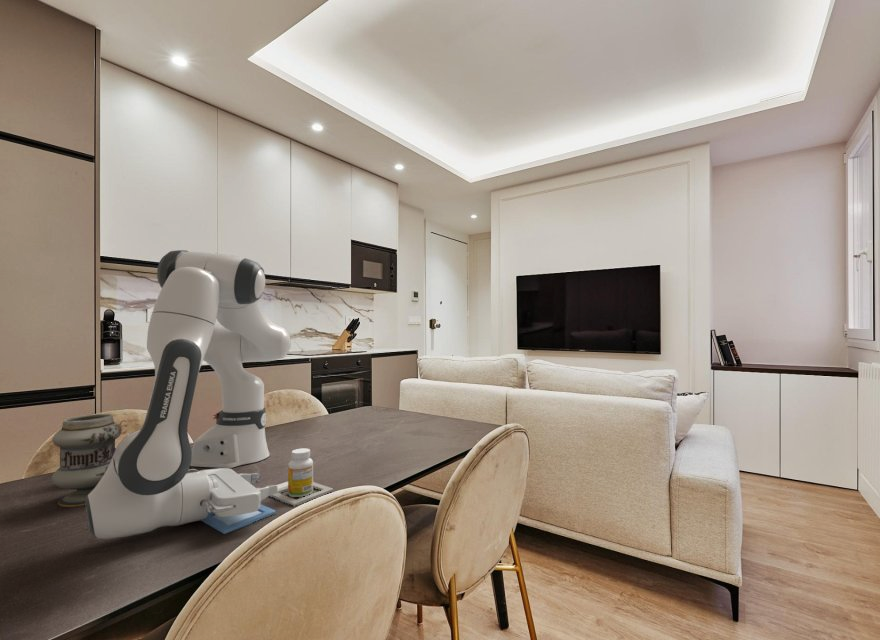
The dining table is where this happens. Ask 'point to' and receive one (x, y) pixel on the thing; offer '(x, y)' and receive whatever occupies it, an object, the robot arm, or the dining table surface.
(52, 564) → the dining table surface
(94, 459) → the apothecary jar
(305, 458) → the supplement bottle
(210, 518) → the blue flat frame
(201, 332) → the robot arm
